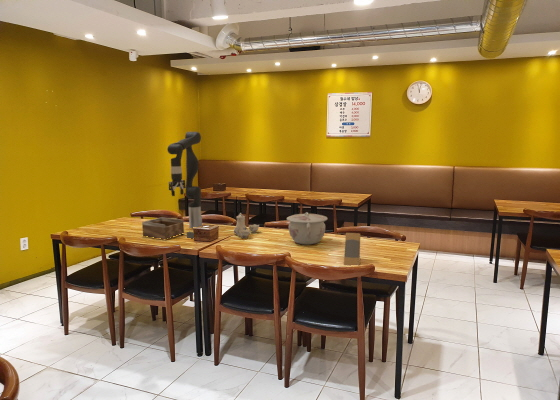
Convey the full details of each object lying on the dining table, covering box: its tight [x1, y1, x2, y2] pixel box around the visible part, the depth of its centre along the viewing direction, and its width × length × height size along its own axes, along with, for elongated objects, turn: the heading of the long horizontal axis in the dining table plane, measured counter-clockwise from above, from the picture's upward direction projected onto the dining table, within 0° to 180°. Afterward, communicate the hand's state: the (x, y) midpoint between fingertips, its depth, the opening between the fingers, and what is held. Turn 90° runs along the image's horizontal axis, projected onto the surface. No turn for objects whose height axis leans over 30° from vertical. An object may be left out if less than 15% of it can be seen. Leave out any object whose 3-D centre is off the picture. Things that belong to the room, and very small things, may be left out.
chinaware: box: [233, 212, 260, 239], centre depth 299 cm, size 28×17×17 cm, turn 167°
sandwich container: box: [343, 232, 361, 267], centre depth 232 cm, size 9×15×15 cm, turn 167°
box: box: [141, 216, 185, 240], centre depth 300 cm, size 19×22×11 cm
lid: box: [186, 231, 194, 239], centre depth 287 cm, size 17×20×6 cm
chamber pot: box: [286, 211, 328, 246], centre depth 275 cm, size 28×28×21 cm
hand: (177, 195), depth 294 cm, fingers open, 8 cm apart
